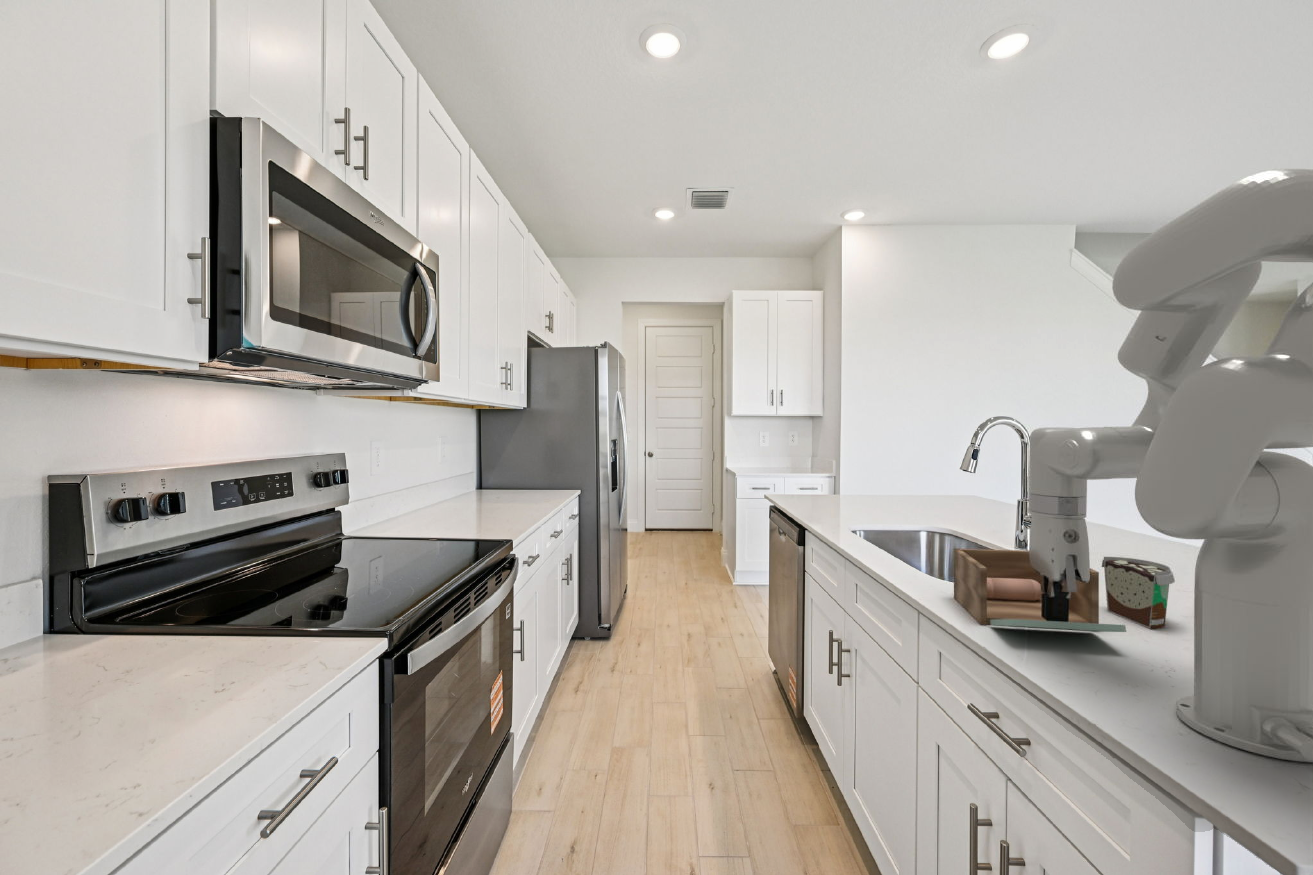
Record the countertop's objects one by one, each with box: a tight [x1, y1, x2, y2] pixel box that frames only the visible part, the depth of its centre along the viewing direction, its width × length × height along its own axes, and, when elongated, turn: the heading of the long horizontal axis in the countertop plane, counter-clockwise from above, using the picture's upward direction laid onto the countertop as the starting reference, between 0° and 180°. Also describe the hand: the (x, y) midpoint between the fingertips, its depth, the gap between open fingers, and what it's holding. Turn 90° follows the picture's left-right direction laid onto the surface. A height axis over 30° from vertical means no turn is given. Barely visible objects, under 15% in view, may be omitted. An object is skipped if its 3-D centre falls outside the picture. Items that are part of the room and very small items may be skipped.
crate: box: [953, 547, 1100, 626], centre depth 105 cm, size 16×18×10 cm
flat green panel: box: [990, 619, 1127, 633], centre depth 92 cm, size 1×15×10 cm
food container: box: [1101, 556, 1176, 630], centre depth 101 cm, size 12×6×10 cm, turn 179°
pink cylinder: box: [987, 578, 1042, 601], centre depth 110 cm, size 4×11×4 cm, turn 77°
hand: (1054, 619), depth 91 cm, fingers closed
